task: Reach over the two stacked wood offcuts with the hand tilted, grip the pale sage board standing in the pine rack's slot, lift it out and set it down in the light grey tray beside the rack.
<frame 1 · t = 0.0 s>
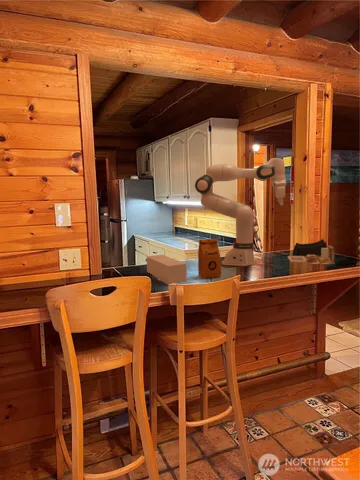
hand: (280, 204, 211), 39 cm above the counter, tool pointing down, fingers open, 8 cm apart
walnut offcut: (311, 261, 214), point 1 cm above the counter, touching oak offcut, rack
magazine: (310, 255, 241), on the counter
tray: (297, 261, 221), on the counter
oak offcut: (311, 257, 213), point 4 cm above the counter, touching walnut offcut
pinkish brown block: (165, 278, 188), on the counter
board: (324, 261, 212), point 1 cm above the counter, touching rack
rack: (319, 263, 213), on the counter
coffee package: (209, 277, 187), on the counter
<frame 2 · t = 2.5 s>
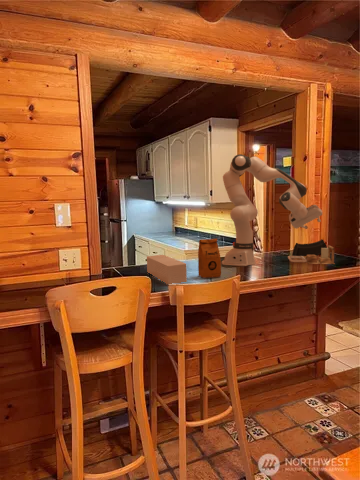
hand: (313, 224, 215), 25 cm above the counter, tool tilted 50°, fingers open, 8 cm apart
nothing on the counter moved.
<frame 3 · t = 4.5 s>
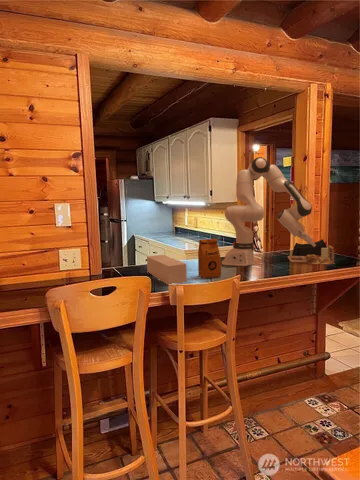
hand: (313, 244, 214), 12 cm above the counter, tool tilted 45°, fingers open, 8 cm apart
nothing on the counter moved.
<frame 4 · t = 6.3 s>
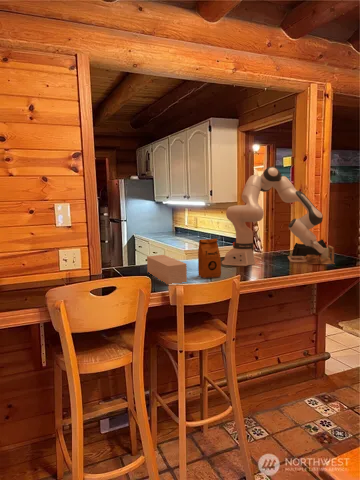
hand: (324, 254, 211), 6 cm above the counter, tool tilted 45°, fingers closed on board, 2 cm apart
board: (324, 261, 212), point 1 cm above the counter, touching gripper, rack
everything else where it was.
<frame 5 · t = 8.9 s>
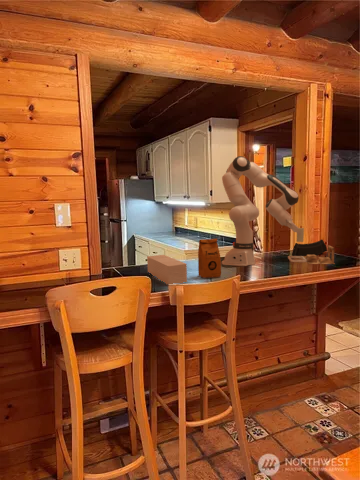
hand: (300, 234, 217), 19 cm above the counter, tool tilted 45°, fingers closed on board
board: (299, 241, 218), point 14 cm above the counter, touching gripper
everything else where it was.
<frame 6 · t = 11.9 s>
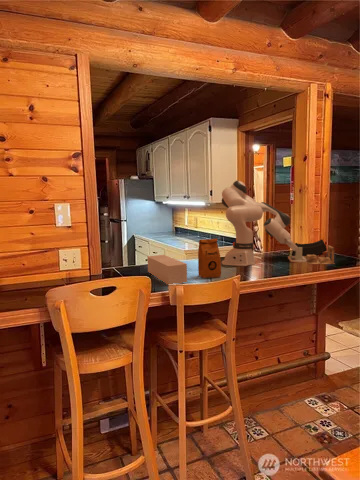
hand: (298, 252, 220), 7 cm above the counter, tool tilted 45°, fingers open, 5 cm apart
board: (298, 260, 221), point 1 cm above the counter, touching tray
everything else where it was.
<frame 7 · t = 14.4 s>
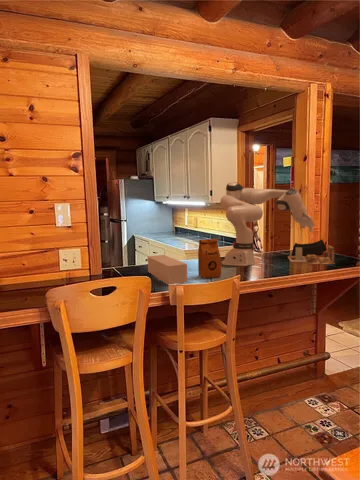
hand: (307, 229, 221), 21 cm above the counter, tool tilted 30°, fingers open, 8 cm apart
nothing on the counter moved.
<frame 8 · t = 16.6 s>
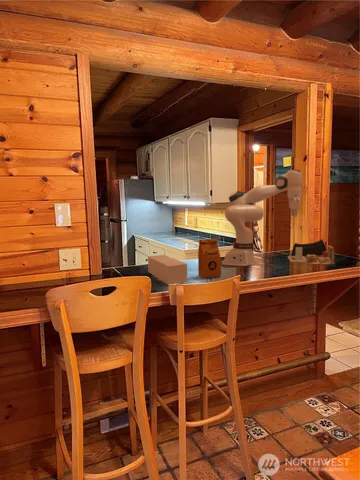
hand: (294, 216, 213), 31 cm above the counter, tool pointing down, fingers open, 8 cm apart
nothing on the counter moved.
at the end: board inside the target area on the tray (1.1 cm from its centre), point 0.6 cm above the tray's base; board moved 16.1 cm from its start; the gripper is holding nothing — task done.
